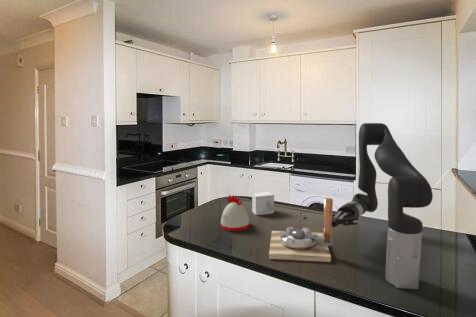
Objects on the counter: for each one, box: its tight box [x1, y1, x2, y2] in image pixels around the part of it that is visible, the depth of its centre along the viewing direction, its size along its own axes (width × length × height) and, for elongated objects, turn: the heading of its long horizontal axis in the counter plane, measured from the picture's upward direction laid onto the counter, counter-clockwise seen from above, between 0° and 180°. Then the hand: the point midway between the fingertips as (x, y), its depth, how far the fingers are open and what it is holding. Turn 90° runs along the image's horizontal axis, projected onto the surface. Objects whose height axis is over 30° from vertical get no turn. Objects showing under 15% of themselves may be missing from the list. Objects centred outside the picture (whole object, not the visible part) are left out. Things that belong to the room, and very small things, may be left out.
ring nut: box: [280, 197, 334, 250], centre depth 117 cm, size 20×14×20 cm
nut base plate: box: [268, 230, 332, 263], centre depth 120 cm, size 22×22×2 cm
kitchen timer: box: [220, 194, 251, 232], centre depth 144 cm, size 14×14×15 cm
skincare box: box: [251, 191, 275, 216], centre depth 162 cm, size 10×6×10 cm, turn 106°
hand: (332, 224), depth 111 cm, fingers closed
